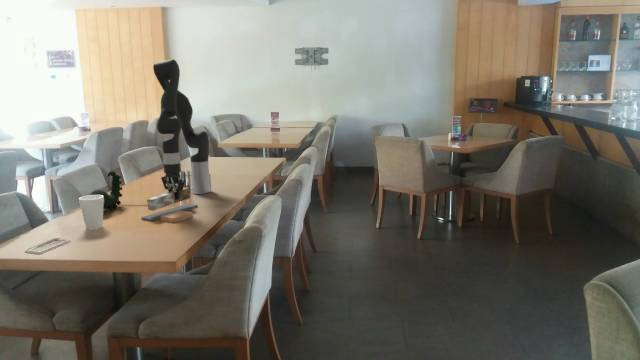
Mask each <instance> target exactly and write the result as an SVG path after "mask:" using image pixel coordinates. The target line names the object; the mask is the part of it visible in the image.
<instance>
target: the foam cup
mask: <svg viewBox="0 0 640 360" xmlns="http://www.w3.org/2000/svg"><path fill="white" fill-rule="evenodd" d="M78 201H79V204H78V205H80V210H81V213H82V217H83V221H84V225H85V228H86V230H90V231H91V230H92V231H93V230H98V229H102V228H103V226H104V225H103V224H104V209H103V204H104V196H103V195H90V194H89V195H88V194H87V195H84V196H83V195H82V196H80V197H79V198H78Z"/></svg>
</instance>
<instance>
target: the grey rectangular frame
mask: <svg viewBox="0 0 640 360" xmlns="http://www.w3.org/2000/svg"><path fill="white" fill-rule="evenodd" d="M59 240H65V241H62V242H60V243H58V244H55V245H52V246H50V247H48V248H45V249H42V250H39V251H38V250H32V249H33V248H38V247H42V246H44V245H47V244H49V243H52V242H54V241H59ZM70 242H71V238H63V237H62V238H61V237H54V238H51V239H49V240H46V241H44V242H42V243H39V244H36V245H33V246H30V247H28V248H26V249H24V253H28V254H36V255H37V254H38V255H42V254H44V253H46V252H49V251H52V250H53V249H56V248H59V247H61V246H64V245H65V244H68V243H70Z"/></svg>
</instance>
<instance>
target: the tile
mask: <svg viewBox="0 0 640 360" xmlns="http://www.w3.org/2000/svg"><path fill="white" fill-rule="evenodd" d="M189 217H191V218H192V217H194V216H193V212H191V211H188V210H187V211H181V210H179V211H176V212H172V213H169V214H166V215H162V216H161V218H160V221H162V220H164V221H163V222H167V221H169V222H168V223H172V222H175V223H178V222H181V221H184V220H187V219H190V218H189ZM186 218H187V219H186ZM183 219H184V220H183ZM180 220H181V221H180ZM177 221H178V222H177Z"/></svg>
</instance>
